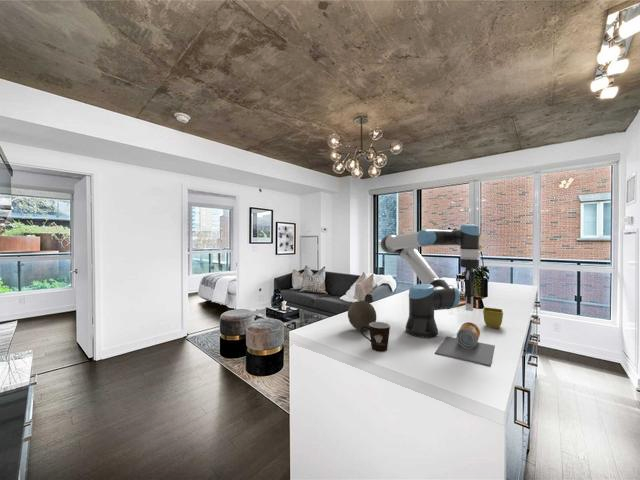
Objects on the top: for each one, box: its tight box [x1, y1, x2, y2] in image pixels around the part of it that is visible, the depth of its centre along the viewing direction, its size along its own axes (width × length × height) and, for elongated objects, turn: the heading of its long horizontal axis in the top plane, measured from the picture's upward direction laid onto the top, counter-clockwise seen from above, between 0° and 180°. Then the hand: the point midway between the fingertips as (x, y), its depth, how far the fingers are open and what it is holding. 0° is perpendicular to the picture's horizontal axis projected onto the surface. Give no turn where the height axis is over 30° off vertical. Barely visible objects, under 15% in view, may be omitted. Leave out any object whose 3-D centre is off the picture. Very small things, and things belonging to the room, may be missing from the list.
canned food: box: [455, 321, 481, 348], centre depth 118 cm, size 8×8×12 cm
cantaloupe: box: [347, 300, 377, 332], centre depth 136 cm, size 14×14×15 cm
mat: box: [434, 336, 496, 367], centre depth 112 cm, size 19×23×1 cm
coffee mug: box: [359, 321, 391, 353], centre depth 115 cm, size 12×9×10 cm
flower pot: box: [482, 306, 504, 329], centre depth 143 cm, size 9×9×9 cm
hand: (469, 310), depth 123 cm, fingers closed
